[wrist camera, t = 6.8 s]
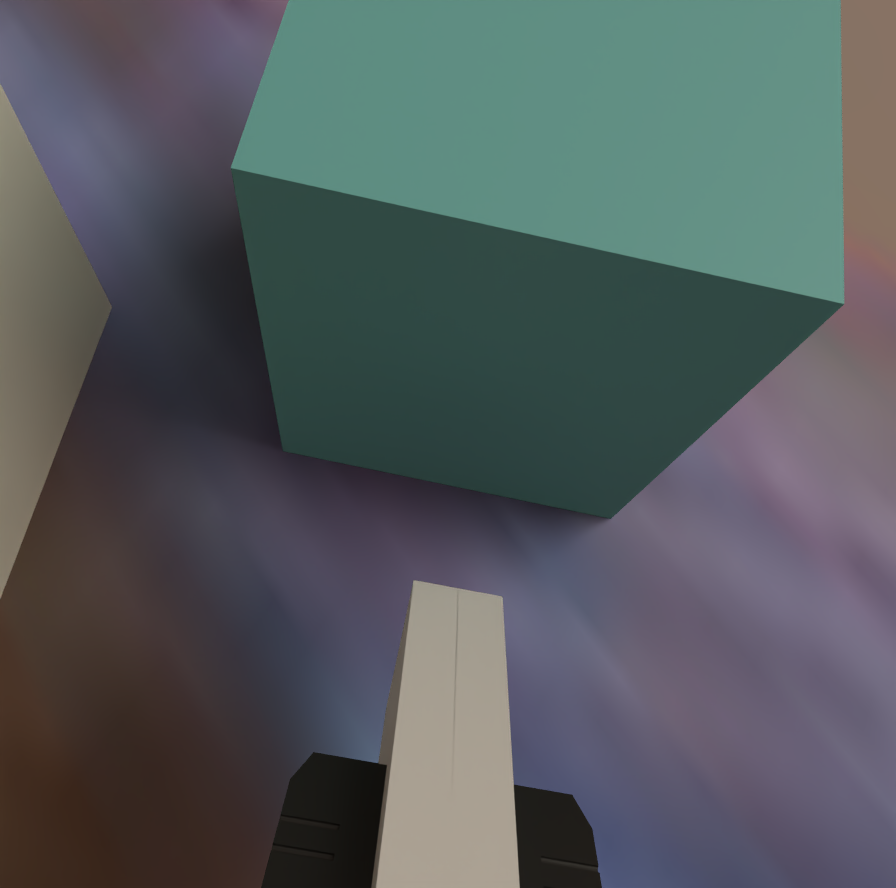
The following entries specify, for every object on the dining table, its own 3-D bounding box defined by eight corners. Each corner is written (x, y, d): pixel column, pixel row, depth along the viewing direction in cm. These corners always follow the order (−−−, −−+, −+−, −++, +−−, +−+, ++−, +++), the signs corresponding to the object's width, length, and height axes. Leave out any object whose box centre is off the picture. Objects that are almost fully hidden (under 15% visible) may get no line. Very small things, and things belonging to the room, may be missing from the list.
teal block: (610, 519, 20) (844, 304, 11) (282, 451, 20) (231, 167, 10) (638, 247, 23) (839, -104, 14) (355, 184, 23) (364, -221, 13)
